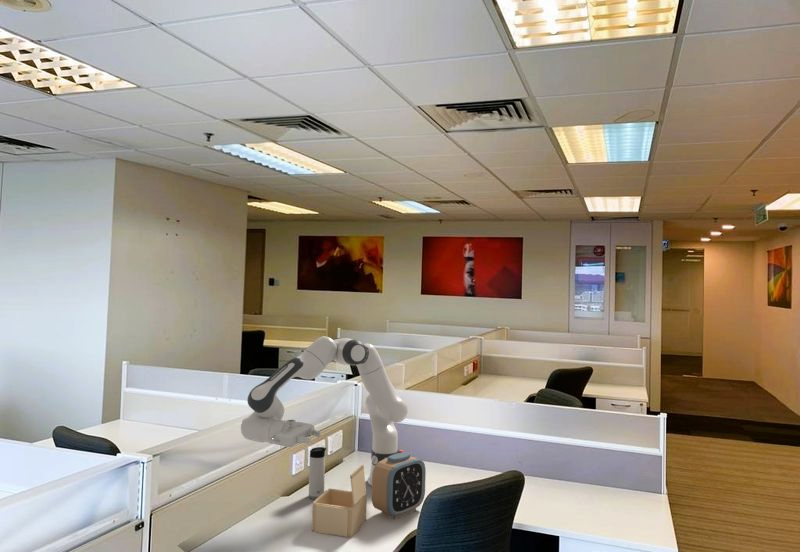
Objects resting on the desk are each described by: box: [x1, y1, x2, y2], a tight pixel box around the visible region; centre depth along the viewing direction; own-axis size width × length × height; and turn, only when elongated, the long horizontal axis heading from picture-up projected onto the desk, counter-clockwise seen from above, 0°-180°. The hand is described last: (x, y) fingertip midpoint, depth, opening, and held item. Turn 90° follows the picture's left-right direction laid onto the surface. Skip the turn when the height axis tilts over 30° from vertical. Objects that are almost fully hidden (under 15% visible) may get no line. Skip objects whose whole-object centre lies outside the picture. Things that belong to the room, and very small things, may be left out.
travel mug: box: [308, 446, 327, 500], centre depth 233 cm, size 6×7×20 cm
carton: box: [311, 488, 368, 539], centre depth 206 cm, size 16×16×10 cm
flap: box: [349, 464, 367, 505], centre depth 204 cm, size 1×12×10 cm, turn 164°
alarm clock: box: [371, 451, 427, 520], centre depth 219 cm, size 21×10×22 cm, turn 137°
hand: (315, 437), depth 209 cm, fingers open, 8 cm apart
